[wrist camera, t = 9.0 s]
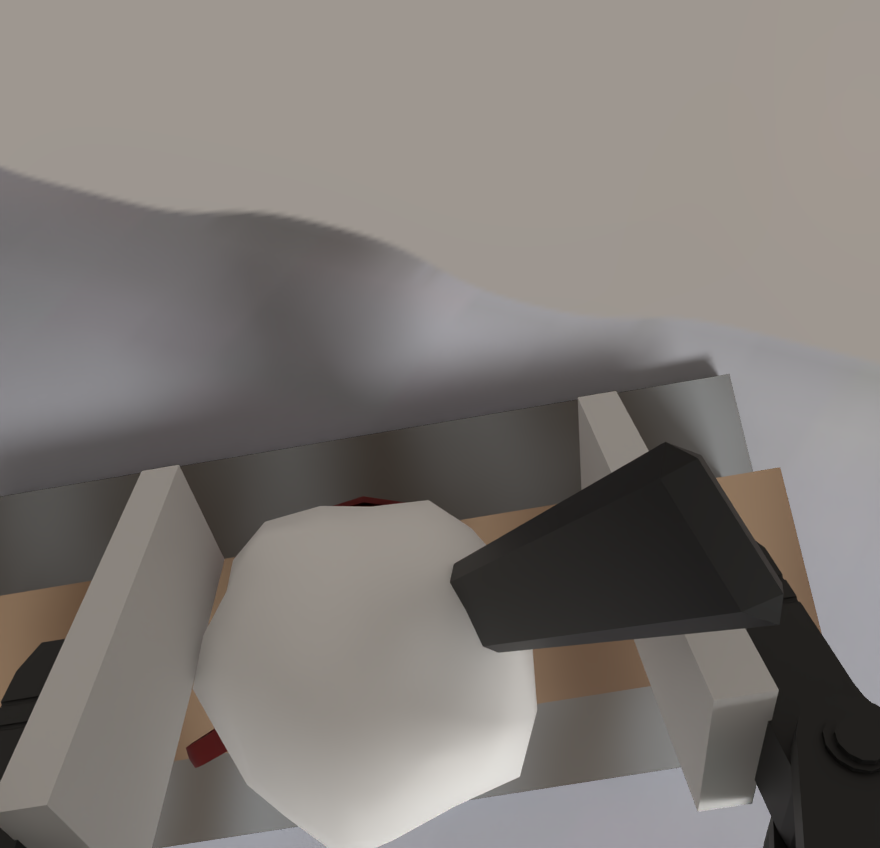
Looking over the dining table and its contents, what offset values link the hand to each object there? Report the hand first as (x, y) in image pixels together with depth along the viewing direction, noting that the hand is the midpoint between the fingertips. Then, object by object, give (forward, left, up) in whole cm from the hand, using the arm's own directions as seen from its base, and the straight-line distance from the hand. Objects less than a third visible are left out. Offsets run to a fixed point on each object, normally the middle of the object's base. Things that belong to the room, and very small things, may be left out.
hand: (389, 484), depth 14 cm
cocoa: (-1, -3, -4) cm, 5 cm away
